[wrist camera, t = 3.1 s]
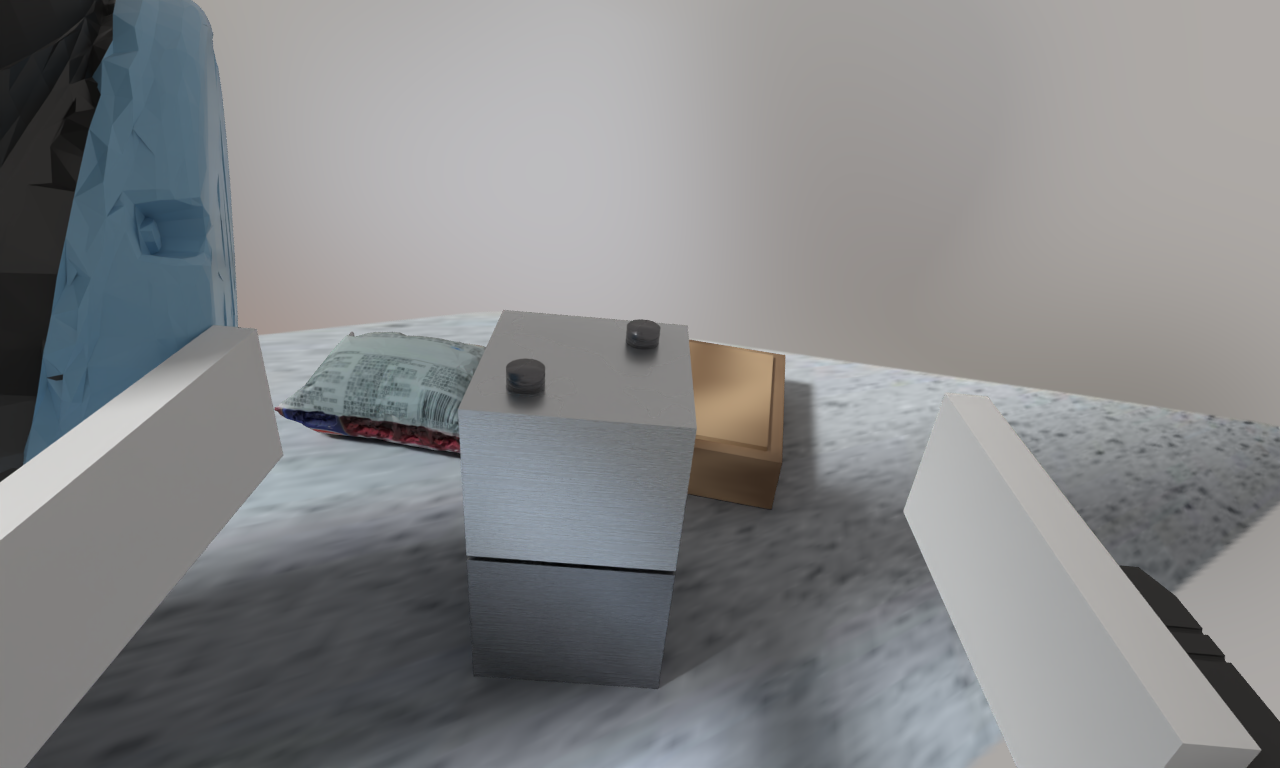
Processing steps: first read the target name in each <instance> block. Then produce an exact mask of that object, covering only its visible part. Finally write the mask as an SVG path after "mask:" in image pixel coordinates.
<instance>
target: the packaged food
mask: <svg viewBox="0 0 1280 768" xmlns="http://www.w3.org/2000/svg"><path fill="white" fill-rule="evenodd" d="M485 349H486V347H484V346H480V345H473V344H464V343H461V342H454V341H449V340H444V339H440V338H432V337H423V336H406V335H404V334H402V333H397V332H373V333H367V334H363V335H360V336H356V337H354V333H353V332H351V333H350V334H349V335H347V336H346V337H345V338H344V339H343V340H342V341H341V342H340V343H339V344H338V345H337V346H336V347H335V348H334V349H333V351H332V352H331V353H330V355H329V356H328V357H327V358H326V360H325V361H324V362H323V363H322V364H321V365H320V367H319V368H318V369H317V370H316V372H315V373H314V374H313V376H312V377H311V378H310V379H309V381H308V382H307V383H306V385H305V386H303V387H302V388H301V389H300V390H299V391H297V392H296V393H295V394H294V395H292V396H291V397H289V398H288V399H286V400H285V401H283V402H282V403H281V404H280V405H278V406H277V407H275V410H276V411H278V412H279V414H280V415H282V416H283V417H285V418H287V419H290V420H294V421H296V422H299V423H302V424H303V425H304V426H306V427H308V428H310V429H313V430H315V431H317V432H319V433H327V434H336V435H345V436H356V437H365V438H377V439H382V440H385V441H388V442H394V443H399V444H405V445H410V446H416V447H423V448H428V449H431V450H441V451H442V450H445V451H449V452H457V453H460V436H459V419H458V408H459V406H460V404H461V401H462V399H463V397H464V395H465V393H466V391H467V388H468V386H469V384H470V382H471V380H472V377H473V375H474V373H475V371H476V369H477V367H478V364H479V362H480V360H481V358H482V356H483V354H484V351H485Z"/></svg>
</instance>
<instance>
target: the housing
mask: <svg viewBox="0 0 1280 768" xmlns="http://www.w3.org/2000/svg"><path fill="white" fill-rule="evenodd" d="M458 419H459V436H460V453H461V470H462V487H463V504H464V521H465V538H466V555H467V556H468V558H467V571H468V588H469V605H470V622H471V639H472V656H473V673H474V676H482V677H497V678H511V679H525V680H539V681H553V682H567V683H581V684H596V685H610V686H624V687H638V688H652V689H658V685H659V678H660V671H661V665H662V658H663V651H664V645H665V638H666V631H667V625H668V618H669V611H670V605H671V598H672V591H673V585H674V578H675V571H676V565H677V558H678V551H679V544H680V538H681V531H682V524H683V518H684V511H685V504H686V498H687V491H688V484H689V478H690V471H691V464H692V458H693V451H694V444H695V438H696V431H697V424H696V413H695V402H694V391H693V380H692V369H691V358H690V347H689V337H688V326H686V325H675V324H663V323H655V322H652V321H649V320H633V321H628V320H615V319H602V318H592V317H580V316H568V315H556V314H543V313H532V312H520V311H508V310H503V312H502V314H501V317H500V319H499V321H498V323H497V325H496V327H495V330H494V332H493V334H492V336H491V338H490V340H489V343H488V345H487V347H486V349H485V351H484V354H483V356H482V358H481V360H480V362H479V364H478V367H477V369H476V371H475V373H474V375H473V377H472V380H471V382H470V384H469V386H468V388H467V391H466V393H465V395H464V397H463V399H462V401H461V404H460V406H459V408H458Z"/></svg>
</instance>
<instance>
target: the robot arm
mask: <svg viewBox="0 0 1280 768" xmlns="http://www.w3.org/2000/svg"><path fill="white" fill-rule="evenodd" d="M212 39H213V32H212V28H211V25H210V22H209V20H208V18H207V16H206V15H205V13H204V11H203V10H202V9H201V8H200V7H199V6H198V5H197V4H196V3H195V2H193V1H191V0H0V768H25V766H26V765H27V764H28V763H29V762H30V760H31V759H32V758H33V757H34V756H35V754H36V753H37V752H38V751H39V750H40V748H41V747H42V746H43V745H44V744H45V742H46V741H47V740H48V739H49V737H50V736H51V735H52V734H53V733H54V731H55V730H56V729H57V728H58V727H59V725H60V724H61V723H62V722H63V721H64V719H65V718H66V717H67V716H68V715H69V713H70V712H71V711H72V710H73V709H74V707H75V706H76V705H77V704H78V702H79V701H80V700H81V699H82V698H83V696H84V695H85V694H86V693H87V692H88V690H89V689H90V688H91V687H92V686H93V684H94V683H95V682H96V681H97V680H98V678H99V677H100V676H101V675H102V673H103V672H104V671H105V670H106V669H107V667H108V666H109V665H110V664H111V663H112V661H113V660H114V659H115V658H116V657H117V655H118V654H119V653H120V652H121V651H122V649H123V648H124V647H125V646H126V645H127V643H128V642H129V641H130V640H131V638H132V637H133V636H134V635H135V634H136V632H137V631H138V630H139V629H140V628H141V626H142V625H143V624H144V623H145V622H146V620H147V619H148V618H149V617H150V616H151V614H152V613H153V612H154V611H155V610H156V608H157V607H158V606H159V605H160V603H161V602H162V601H163V600H164V599H165V597H166V596H167V595H168V594H169V593H170V591H171V590H172V589H173V588H174V587H175V585H176V584H177V583H178V582H179V581H180V579H181V578H182V577H183V576H184V575H185V573H186V572H187V571H188V570H189V568H190V567H191V566H192V565H193V564H194V562H195V561H196V560H197V559H198V558H199V556H200V555H201V554H202V553H203V552H204V550H205V549H206V548H207V547H208V546H209V544H210V543H211V542H212V541H213V539H214V538H215V537H216V536H217V535H218V533H219V532H220V531H221V530H222V529H223V527H224V526H225V525H226V524H227V523H228V521H229V520H230V519H231V518H232V517H233V515H234V514H235V513H236V512H237V511H238V509H239V508H240V507H241V506H242V504H243V503H244V502H245V501H246V500H247V498H248V497H249V496H250V495H251V494H252V492H253V491H254V490H255V489H256V488H257V486H258V485H259V484H260V483H261V482H262V480H263V479H264V478H265V477H266V476H267V474H268V473H269V472H270V471H271V469H272V468H273V467H274V466H275V465H276V463H277V462H278V461H279V460H280V459H281V457H282V456H283V451H282V447H281V442H280V437H279V432H278V428H277V423H276V418H275V414H274V409H273V404H272V399H271V395H270V390H269V385H268V381H267V376H266V371H265V366H264V362H263V357H262V352H261V348H260V343H259V338H258V334H257V329H251V328H241V327H238V316H237V293H236V272H235V253H234V238H233V223H232V208H231V191H230V177H229V164H228V153H227V152H228V151H227V140H226V129H225V119H224V109H223V99H222V91H221V84H220V77H219V71H218V66H217V63H216V59H215V54H214V50H213V40H212ZM903 512H904V514H905V517H906V519H907V521H908V523H909V526H910V528H911V530H912V532H913V535H914V537H915V539H916V541H917V544H918V546H919V548H920V550H921V553H922V555H923V557H924V559H925V562H926V564H927V566H928V568H929V571H930V573H931V575H932V577H933V580H934V582H935V584H936V586H937V589H938V591H939V593H940V595H941V598H942V600H943V602H944V604H945V607H946V609H947V611H948V613H949V616H950V618H951V620H952V623H953V625H954V627H955V629H956V632H957V634H958V636H959V638H960V641H961V643H962V645H963V647H964V650H965V652H966V654H967V656H968V659H969V661H970V663H971V665H972V668H973V670H974V672H975V674H976V677H977V679H978V681H979V683H980V686H981V688H982V690H983V692H984V695H985V697H986V699H987V701H988V704H989V706H990V708H991V710H992V713H993V715H994V717H995V719H996V722H997V724H998V726H999V728H1000V731H1001V733H1002V735H1003V738H1004V740H1005V742H1006V744H1007V746H1008V749H1009V751H1010V753H1011V755H1012V758H1013V760H1014V762H1015V764H1016V767H1017V768H1280V721H1279V720H1278V719H1277V718H1276V717H1275V715H1274V714H1273V713H1272V712H1271V711H1270V709H1269V708H1268V707H1267V706H1266V705H1265V703H1264V702H1263V701H1262V700H1261V699H1260V697H1259V696H1258V695H1257V694H1256V692H1255V691H1254V690H1253V689H1252V688H1251V686H1250V685H1249V684H1248V683H1247V682H1246V680H1245V679H1244V678H1243V677H1242V676H1241V674H1240V673H1239V672H1238V671H1237V670H1236V668H1235V667H1234V666H1233V665H1232V663H1227V662H1226V661H1225V655H1224V654H1223V653H1222V651H1221V650H1220V649H1219V648H1218V647H1217V645H1216V644H1215V643H1214V642H1213V641H1212V639H1211V638H1210V637H1209V636H1208V635H1203V633H1202V627H1201V626H1200V625H1199V624H1198V622H1197V621H1196V620H1195V619H1194V618H1193V616H1192V615H1191V614H1190V613H1189V612H1188V610H1187V609H1186V608H1185V607H1184V606H1183V604H1182V603H1181V602H1180V601H1179V600H1178V598H1177V597H1176V596H1175V595H1174V594H1172V593H1171V592H1170V591H1168V590H1167V589H1166V588H1165V587H1163V586H1162V585H1161V584H1159V583H1158V582H1157V581H1155V580H1154V579H1153V578H1152V577H1150V576H1149V575H1148V574H1146V573H1145V572H1144V571H1143V570H1141V569H1140V568H1139V567H1130V566H1119V565H1118V564H1117V563H1116V561H1115V560H1114V559H1113V558H1112V556H1111V555H1110V554H1109V552H1108V551H1107V550H1106V549H1105V547H1104V546H1103V545H1102V543H1101V542H1100V541H1099V540H1098V538H1097V537H1096V536H1095V534H1094V533H1093V532H1092V530H1091V529H1090V528H1089V527H1088V525H1087V524H1086V523H1085V521H1084V520H1083V519H1082V518H1081V516H1080V515H1079V514H1078V512H1077V511H1076V510H1075V509H1074V507H1073V506H1072V505H1071V503H1070V502H1069V501H1068V500H1067V498H1066V497H1065V496H1064V494H1063V493H1062V492H1061V490H1060V489H1059V488H1058V487H1057V485H1056V484H1055V483H1054V481H1053V480H1052V479H1051V478H1050V476H1049V475H1048V474H1047V472H1046V471H1045V470H1044V469H1043V467H1042V466H1041V465H1040V463H1039V462H1038V461H1037V459H1036V458H1035V457H1034V456H1033V454H1032V453H1031V452H1030V450H1029V449H1028V448H1027V447H1026V445H1025V444H1024V443H1023V441H1022V440H1021V439H1020V438H1019V436H1018V435H1017V434H1016V432H1015V431H1014V430H1013V428H1012V427H1011V426H1010V425H1009V423H1008V422H1007V421H1006V419H1005V418H1004V417H1003V416H1002V414H1001V413H1000V412H999V410H998V409H997V408H996V407H995V405H994V404H993V403H992V401H991V400H990V399H989V398H988V396H977V395H967V394H956V393H945V395H944V397H943V400H942V403H941V406H940V409H939V412H938V414H937V417H936V420H935V423H934V426H933V429H932V431H931V434H930V437H929V440H928V443H927V446H926V448H925V451H924V454H923V457H922V460H921V463H920V465H919V468H918V471H917V474H916V477H915V480H914V482H913V485H912V488H911V491H910V494H909V497H908V499H907V502H906V505H905V508H904V511H903Z"/></svg>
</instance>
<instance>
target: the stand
mask: <svg viewBox="0 0 1280 768" xmlns="http://www.w3.org/2000/svg"><path fill="white" fill-rule="evenodd" d="M689 347H690V358H691V369H692V380H693V391H694V402H695V413H696V424H697V431H696V438H695V444H694V451H693V458H692V464H691V471H690V478H689V484H688V491H687V494H692V495H697V496H703V497H708V498H713V499H718V500H724V501H729V502H734V503H740V504H745V505H750V506H755V507H761V508H766V509H772V505H773V500H774V496H775V492H776V487H777V483H778V479H779V474H780V470H781V466H782V449H783V416H784V383H785V355H780V354H774V353H768V352H762V351H756V350H749V349H743V348H737V347H731V346H725V345H719V344H712V343H706V342H700V341H694V340H689Z"/></svg>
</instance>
